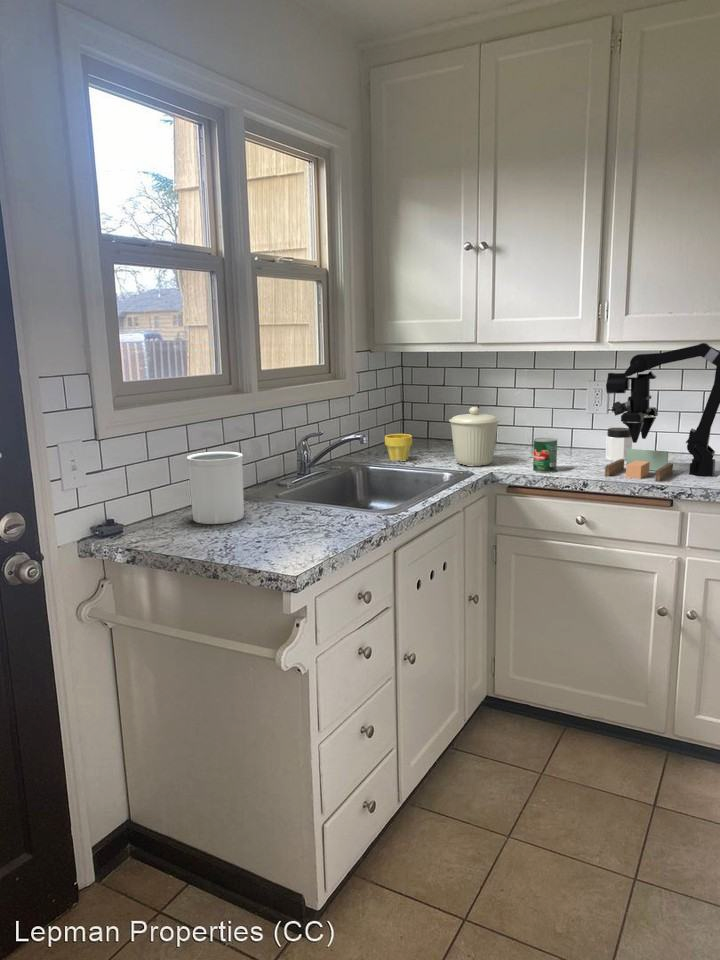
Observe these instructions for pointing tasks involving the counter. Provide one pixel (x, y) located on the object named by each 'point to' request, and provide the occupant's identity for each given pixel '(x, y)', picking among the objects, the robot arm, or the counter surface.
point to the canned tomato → (545, 455)
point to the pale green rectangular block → (648, 457)
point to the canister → (474, 437)
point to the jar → (618, 443)
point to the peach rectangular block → (637, 469)
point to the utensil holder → (216, 487)
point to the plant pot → (398, 446)
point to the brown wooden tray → (619, 466)
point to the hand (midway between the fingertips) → (639, 440)
